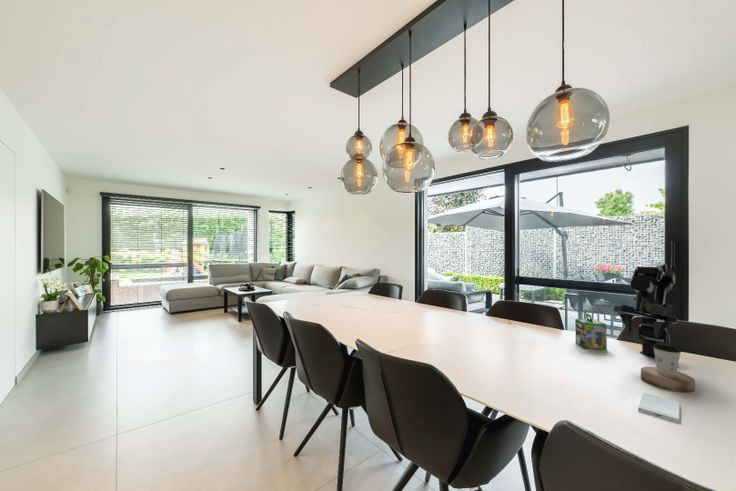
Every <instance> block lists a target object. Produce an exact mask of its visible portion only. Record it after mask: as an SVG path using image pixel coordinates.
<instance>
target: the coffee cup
mask: <svg viewBox="0 0 736 491" xmlns="http://www.w3.org/2000/svg"><path fill="white" fill-rule="evenodd" d="M653 348H654V354H655V358H654V359H655V367H657V373H659V374H661V375H664V376H668V377H676V374H677V372H678V367H679V362H680V357H681V353H682V350H681V349H680V348H679V347H678V346H677V345H676V344H673V343H670V344H669V343H662V342H657V343H656V344H655V345H653Z"/></svg>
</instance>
